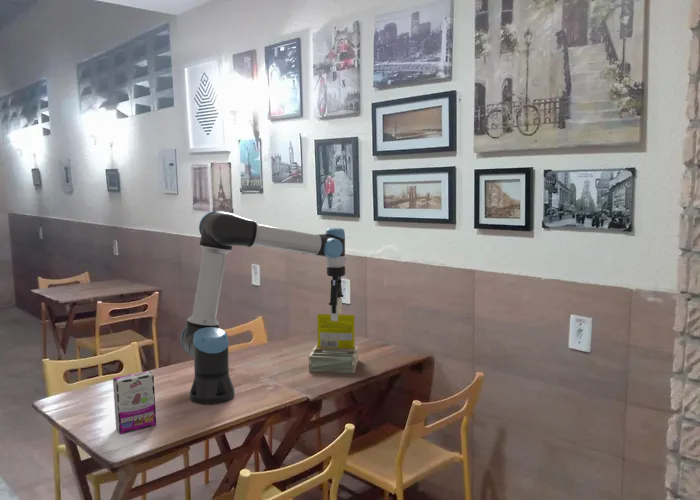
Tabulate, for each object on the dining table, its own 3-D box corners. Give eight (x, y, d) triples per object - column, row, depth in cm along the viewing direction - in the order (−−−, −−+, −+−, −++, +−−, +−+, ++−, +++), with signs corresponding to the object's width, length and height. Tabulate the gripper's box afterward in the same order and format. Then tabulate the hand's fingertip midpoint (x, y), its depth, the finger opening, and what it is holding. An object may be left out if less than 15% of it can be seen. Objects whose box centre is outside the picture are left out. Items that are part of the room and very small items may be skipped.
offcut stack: (348, 368, 237) (348, 353, 236) (318, 366, 238) (318, 352, 238) (349, 364, 242) (349, 349, 241) (320, 363, 243) (320, 348, 242)
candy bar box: (151, 420, 186) (149, 370, 184) (156, 425, 182) (154, 374, 180) (114, 429, 180) (112, 377, 177) (119, 434, 176) (116, 381, 173)
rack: (354, 373, 231) (354, 358, 230) (308, 371, 233) (308, 356, 232) (358, 360, 247) (358, 346, 246) (315, 358, 249) (315, 345, 248)
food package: (354, 361, 245) (354, 314, 243) (354, 362, 244) (354, 315, 242) (317, 360, 247) (317, 313, 244) (317, 361, 246) (317, 314, 243)
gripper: (341, 271, 228) (342, 324, 231) (348, 261, 252) (348, 309, 255) (322, 270, 229) (323, 324, 231) (330, 261, 253) (331, 309, 256)
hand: (336, 316), depth 243 cm, fingers open, 13 cm apart
